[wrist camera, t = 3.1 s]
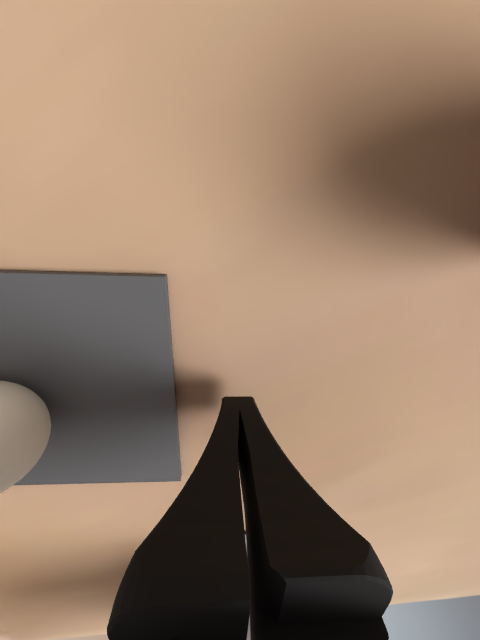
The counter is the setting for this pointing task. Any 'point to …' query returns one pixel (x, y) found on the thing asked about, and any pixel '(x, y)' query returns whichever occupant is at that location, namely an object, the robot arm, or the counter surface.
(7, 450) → the ball
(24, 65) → the counter surface
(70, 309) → the lane
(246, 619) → the robot arm
